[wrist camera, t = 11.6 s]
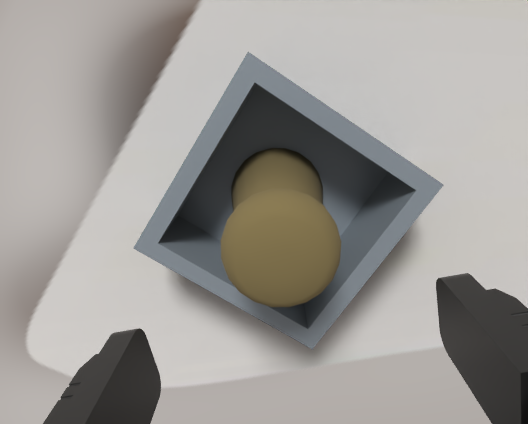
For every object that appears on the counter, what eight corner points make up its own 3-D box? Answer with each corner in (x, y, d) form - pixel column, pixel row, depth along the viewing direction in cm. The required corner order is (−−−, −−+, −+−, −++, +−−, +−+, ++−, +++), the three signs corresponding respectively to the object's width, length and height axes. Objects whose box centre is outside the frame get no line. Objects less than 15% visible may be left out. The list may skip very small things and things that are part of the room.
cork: (342, 194, 26) (390, 266, 16) (275, 253, 27) (279, 356, 17) (278, 127, 25) (283, 156, 14) (211, 192, 26) (173, 263, 16)
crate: (253, 59, 25) (248, 51, 19) (406, 163, 27) (443, 184, 21) (161, 215, 28) (133, 248, 22) (304, 298, 30) (312, 349, 24)
